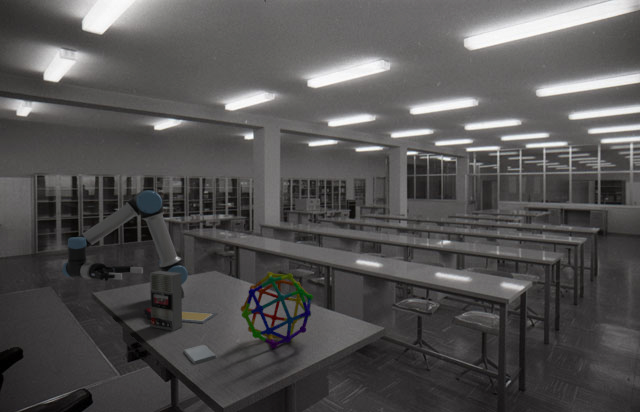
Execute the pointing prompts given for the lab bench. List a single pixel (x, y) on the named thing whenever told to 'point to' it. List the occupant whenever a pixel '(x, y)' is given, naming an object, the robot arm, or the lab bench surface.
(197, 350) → the hard drive
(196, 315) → the picture board
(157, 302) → the grey instrument box
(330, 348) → the lab bench surface
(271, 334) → the geometric model
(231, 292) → the lab bench surface
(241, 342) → the lab bench surface
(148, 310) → the calculator
